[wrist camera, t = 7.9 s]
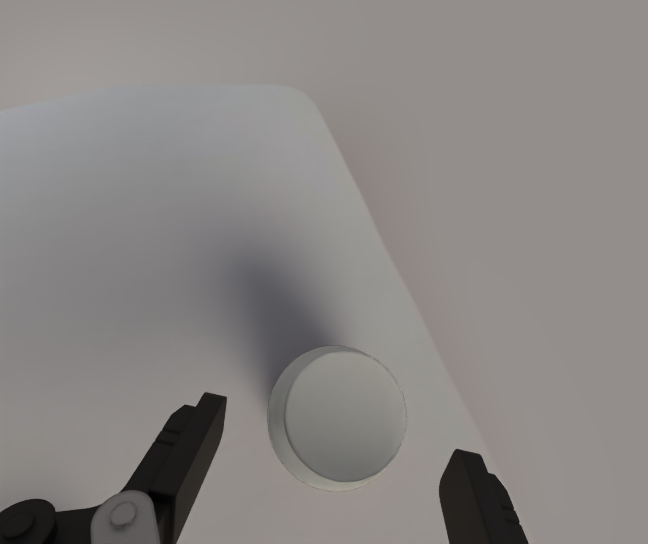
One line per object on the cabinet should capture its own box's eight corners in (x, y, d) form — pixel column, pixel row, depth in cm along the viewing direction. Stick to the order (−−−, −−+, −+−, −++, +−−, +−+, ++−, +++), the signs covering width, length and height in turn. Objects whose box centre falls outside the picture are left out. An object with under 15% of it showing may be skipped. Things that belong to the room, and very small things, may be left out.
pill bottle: (387, 402, 21) (458, 391, 12) (335, 489, 19) (373, 557, 10) (312, 347, 22) (324, 299, 13) (255, 427, 20) (223, 436, 11)
